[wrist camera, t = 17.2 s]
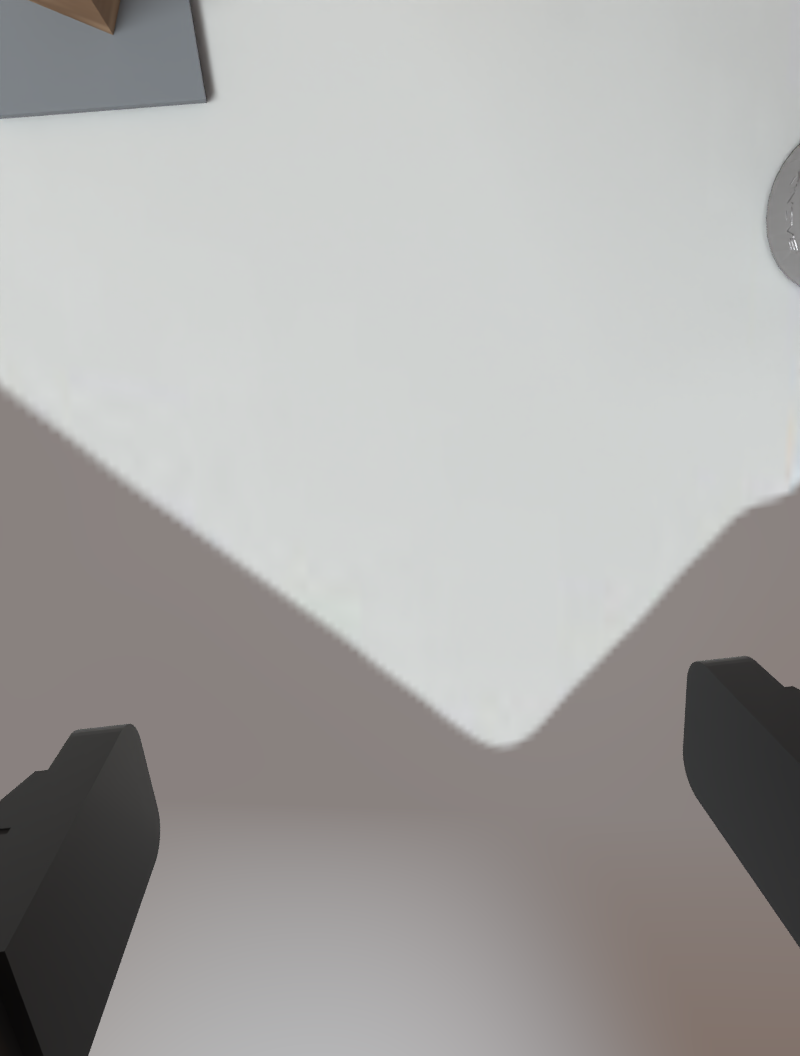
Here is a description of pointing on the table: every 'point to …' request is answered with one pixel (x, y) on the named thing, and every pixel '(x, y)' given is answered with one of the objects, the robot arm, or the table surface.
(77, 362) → the table surface
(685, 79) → the table surface
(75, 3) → the label box
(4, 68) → the slate mat
